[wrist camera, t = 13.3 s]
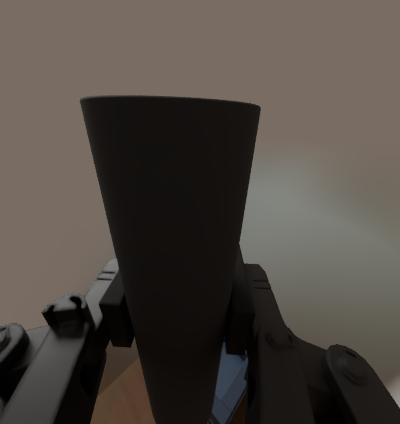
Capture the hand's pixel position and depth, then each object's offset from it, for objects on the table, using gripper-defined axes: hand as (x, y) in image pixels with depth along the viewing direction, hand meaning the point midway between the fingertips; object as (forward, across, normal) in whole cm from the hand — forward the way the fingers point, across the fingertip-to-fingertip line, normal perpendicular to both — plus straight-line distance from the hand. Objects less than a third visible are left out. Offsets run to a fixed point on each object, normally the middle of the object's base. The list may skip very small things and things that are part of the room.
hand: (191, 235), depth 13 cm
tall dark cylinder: (-5, 0, -8) cm, 10 cm away
